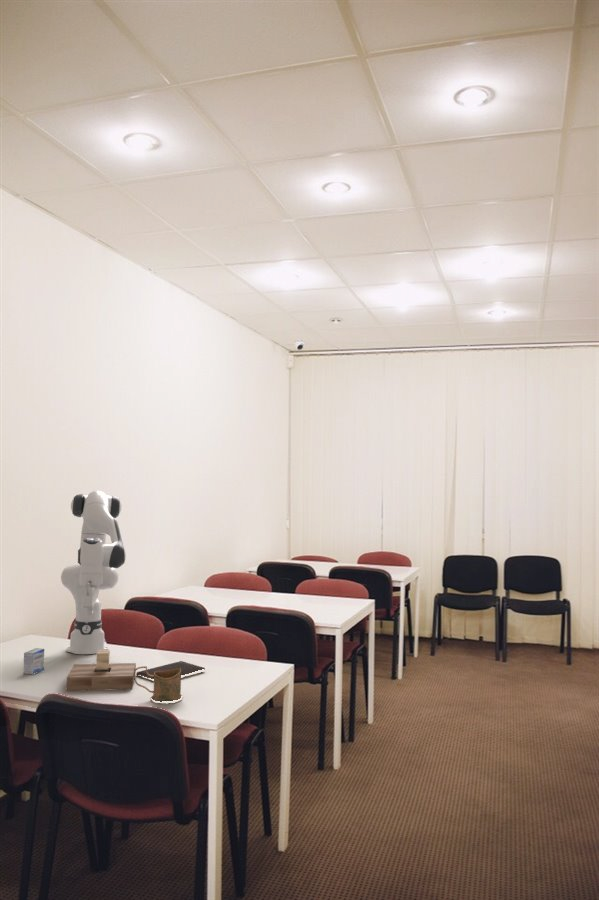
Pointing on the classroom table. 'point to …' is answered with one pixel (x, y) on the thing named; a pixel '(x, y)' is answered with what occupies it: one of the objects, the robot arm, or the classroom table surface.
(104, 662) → the peg
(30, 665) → the medicine box
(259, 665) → the classroom table surface
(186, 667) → the hardcover book
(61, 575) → the robot arm
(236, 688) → the classroom table surface
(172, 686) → the mug
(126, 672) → the board
